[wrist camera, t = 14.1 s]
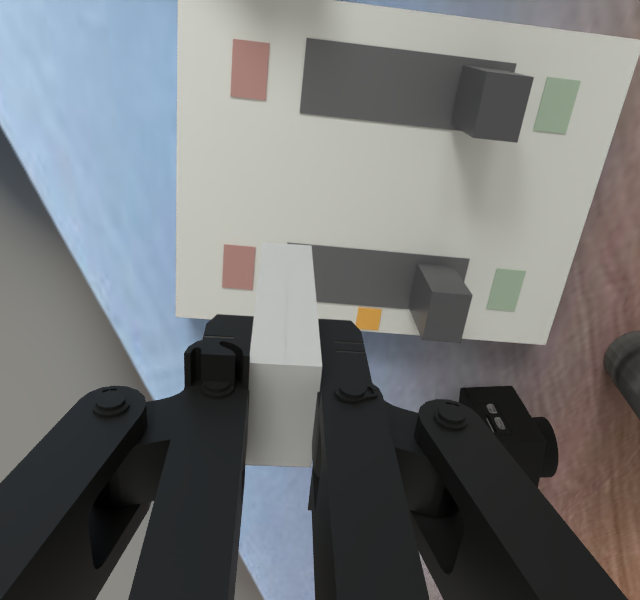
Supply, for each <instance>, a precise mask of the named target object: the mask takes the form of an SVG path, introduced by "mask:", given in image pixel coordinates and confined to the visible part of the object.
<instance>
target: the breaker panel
mask: <svg viewBox="0 0 640 600" xmlns="http://www.w3.org/2000/svg"><path fill="white" fill-rule="evenodd" d="M639 54H640V40H639V39H631V38H624V37H616V36H608V35H600V34H593V33H585V32H577V31H569V30H562V29H554V28H546V27H538V26H531V25H523V24H515V23H507V22H500V21H492V20H484V19H476V18H469V17H461V16H453V15H445V14H438V13H430V12H422V11H414V10H407V9H399V8H391V7H383V6H376V5H368V4H360V3H353V2H345V1H337V0H178V38H177V191H176V317H184V318H197V319H210V320H211V319H212V318H214V317H215V316H216V315H217V314H223V315H240V316H254V311H255V302H256V293H257V284H258V275H259V266H260V257H261V248H262V242H267V243H282V244H296V245H311V246H312V257H313V268H314V279H315V290H316V301H317V312H318V319H333V320H351V321H352V322H353V323H354V324H355V325H356V326H357V327H358V328H359V329H360V330H361V331H368V332H381V333H394V334H407V335H420V334H419V331H418V329H417V326H416V324H415V322H414V319H413V317H412V314H411V312H410V310H409V302H410V297H411V292H412V287H413V282H414V277H415V272H416V267H417V263H422V264H434V265H445V266H454V268H455V269H456V271H457V272H458V274H459V275H460V277H461V278H462V280H463V281H464V283H465V284H466V286H467V287H468V289H469V290H470V292H471V293H472V295H473V296H472V300H471V304H470V308H469V312H468V316H467V320H466V324H465V328H464V332H463V336H462V339H473V340H486V341H499V342H512V343H525V344H538V345H546V342H547V339H548V336H549V333H550V330H551V327H552V323H553V320H554V317H555V314H556V311H557V308H558V305H559V302H560V299H561V296H562V292H563V289H564V286H565V283H566V280H567V277H568V274H569V271H570V268H571V265H572V261H573V258H574V255H575V252H576V249H577V246H578V243H579V240H580V237H581V234H582V230H583V227H584V224H585V221H586V218H587V215H588V212H589V209H590V206H591V203H592V200H593V196H594V193H595V190H596V187H597V184H598V181H599V178H600V175H601V172H602V169H603V165H604V162H605V159H606V156H607V153H608V150H609V147H610V144H611V141H612V138H613V134H614V131H615V128H616V125H617V122H618V119H619V116H620V113H621V110H622V107H623V103H624V100H625V97H626V94H627V91H628V88H629V85H630V82H631V79H632V76H633V73H634V69H635V66H636V63H637V60H638V57H639ZM463 65H466V66H475V67H483V68H491V69H499V70H506V71H510V72H514V73H519V74H523V75H527V76H531V77H534V79H533V83H532V87H531V91H530V95H529V99H528V103H527V107H526V111H525V115H524V119H523V123H522V126H521V130H520V134H519V138H518V142H517V143H515V142H506V141H497V140H488V139H478V138H472V137H470V136H469V135H467V134H466V133H464V132H463V131H461V130H460V129H458V128H457V127H455V126H453V125H452V124H451V121H452V116H453V111H454V106H455V102H456V97H457V92H458V87H459V82H460V77H461V72H462V67H463Z"/></svg>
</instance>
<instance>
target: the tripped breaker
mask: <svg viewBox="0 0 640 600" xmlns="http://www.w3.org/2000/svg"><path fill="white" fill-rule="evenodd" d="M472 296H473V295H472V293H471V292H470V290H469V289H468V287H467V286H466V284H465V283H464V281H463V280H462V278H461V277H460V275H459V274H458V272H457V271H456V269H455V268H454V266H445V265H434V264H422V263H417V267H416V272H415V277H414V282H413V287H412V292H411V297H410V302H409V310H410V312H411V314H412V317H413V319H414V322H415V324H416V326H417V329H418V331H419V334H420V336H421V338H422V340H431V341H444V342H458V343H461V340H462V336H463V332H464V328H465V324H466V320H467V316H468V312H469V308H470V304H471V300H472Z"/></svg>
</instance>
